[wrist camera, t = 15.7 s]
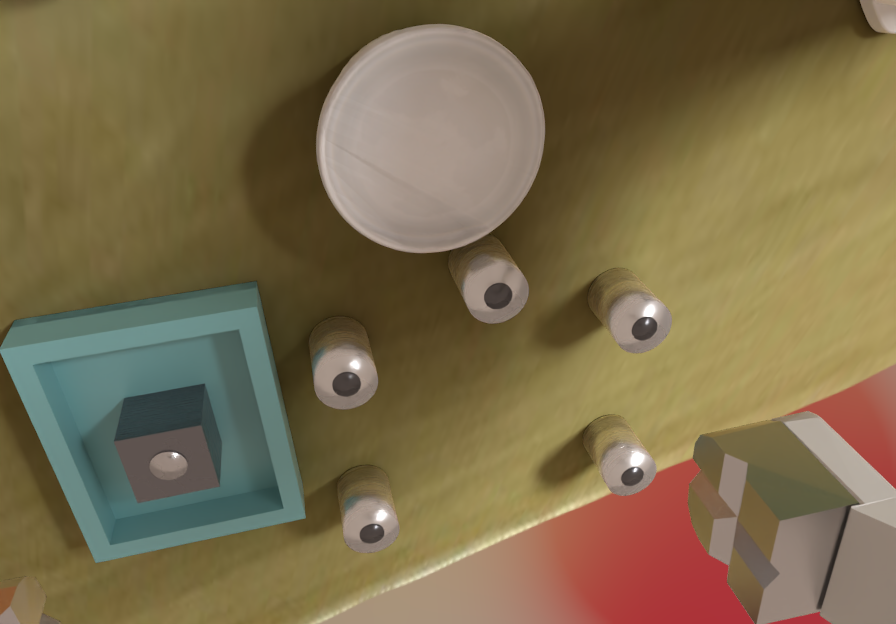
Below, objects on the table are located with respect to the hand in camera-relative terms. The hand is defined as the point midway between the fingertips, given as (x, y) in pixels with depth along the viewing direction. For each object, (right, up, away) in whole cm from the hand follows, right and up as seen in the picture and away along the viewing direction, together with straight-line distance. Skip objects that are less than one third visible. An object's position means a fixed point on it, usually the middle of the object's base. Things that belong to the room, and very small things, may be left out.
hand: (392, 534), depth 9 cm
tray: (-16, -3, +37) cm, 40 cm away
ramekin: (-1, +13, +31) cm, 34 cm away
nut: (-16, -4, +36) cm, 39 cm away
